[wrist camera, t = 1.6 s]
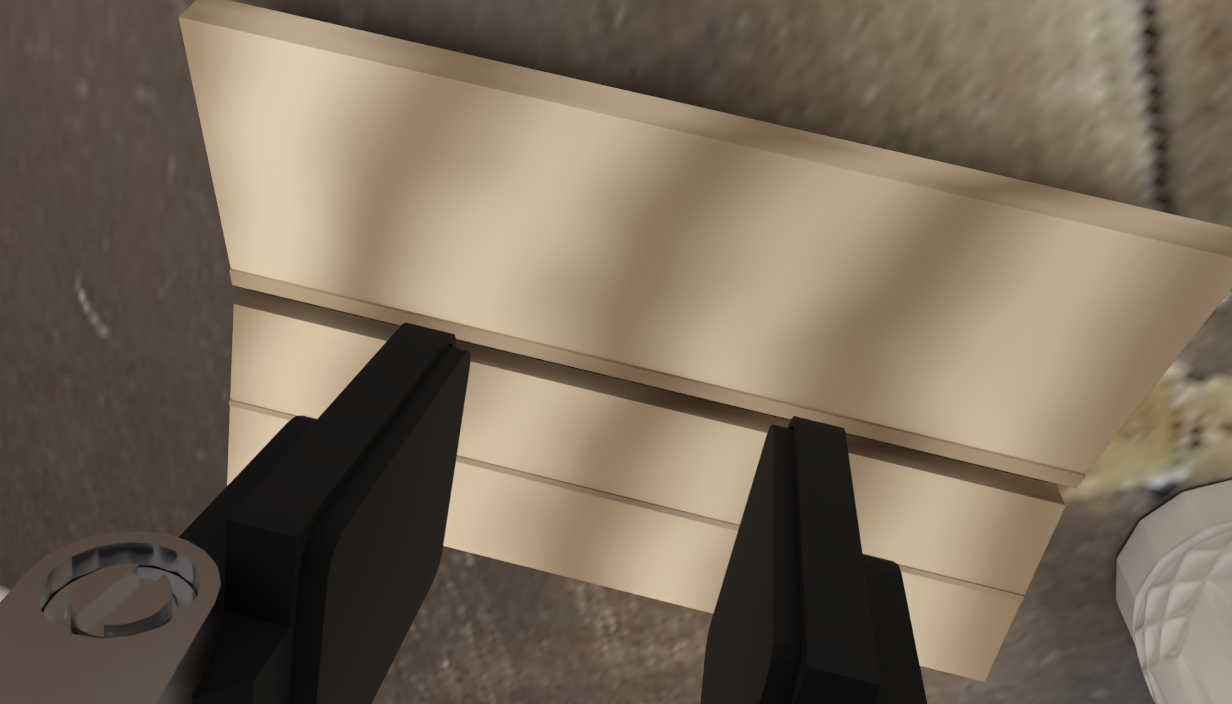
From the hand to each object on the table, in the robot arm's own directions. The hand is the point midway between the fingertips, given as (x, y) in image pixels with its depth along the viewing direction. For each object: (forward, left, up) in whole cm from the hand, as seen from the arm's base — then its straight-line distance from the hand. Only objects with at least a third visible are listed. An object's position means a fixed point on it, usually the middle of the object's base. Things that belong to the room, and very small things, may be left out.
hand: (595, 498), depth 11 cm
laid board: (0, +12, -19) cm, 22 cm away
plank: (0, +3, -17) cm, 18 cm away
